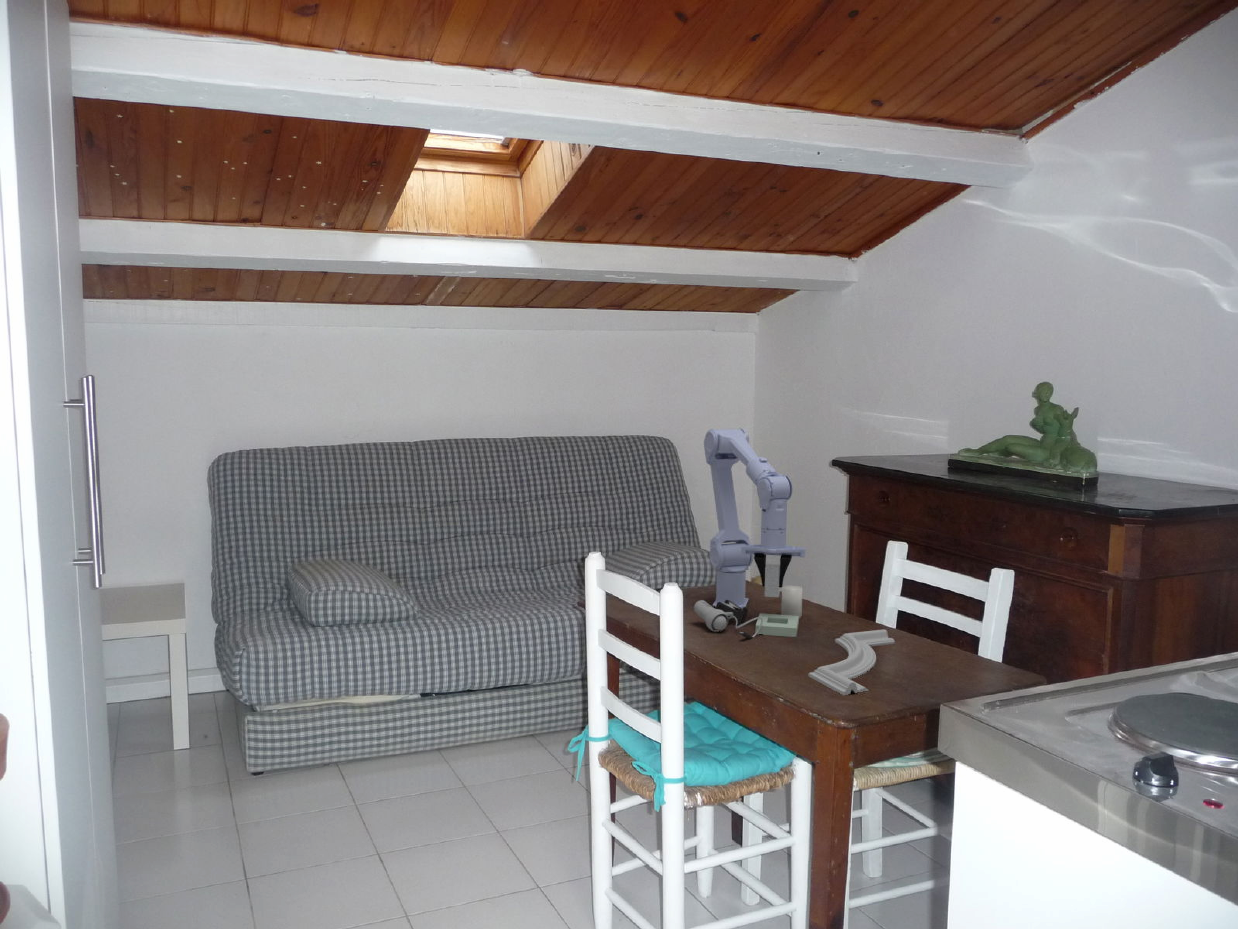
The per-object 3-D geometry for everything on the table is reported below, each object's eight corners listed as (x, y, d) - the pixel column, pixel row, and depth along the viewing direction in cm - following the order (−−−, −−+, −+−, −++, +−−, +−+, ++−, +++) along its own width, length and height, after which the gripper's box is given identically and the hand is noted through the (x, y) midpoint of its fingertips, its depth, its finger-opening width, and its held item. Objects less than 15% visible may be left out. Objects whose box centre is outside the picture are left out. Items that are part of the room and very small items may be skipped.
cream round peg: (782, 613, 239) (783, 584, 238) (802, 614, 238) (803, 586, 237) (780, 618, 234) (781, 589, 234) (800, 619, 233) (801, 590, 233)
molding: (864, 702, 179) (865, 687, 179) (798, 692, 184) (799, 676, 183) (897, 642, 218) (898, 629, 217) (842, 634, 222) (842, 622, 222)
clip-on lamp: (771, 649, 220) (726, 613, 235) (778, 623, 218) (733, 589, 233) (728, 651, 214) (685, 614, 229) (735, 625, 212) (691, 589, 227)
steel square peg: (765, 593, 230) (766, 564, 229) (779, 594, 229) (780, 564, 228) (764, 596, 227) (765, 566, 226) (778, 597, 226) (779, 567, 225)
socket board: (759, 621, 231) (759, 613, 231) (798, 624, 229) (798, 615, 229) (755, 634, 220) (755, 625, 220) (796, 637, 218) (796, 628, 218)
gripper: (740, 529, 224) (739, 588, 225) (805, 532, 221) (803, 591, 222) (743, 524, 231) (742, 581, 232) (806, 527, 228) (804, 585, 229)
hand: (772, 586), depth 228 cm, fingers closed on steel square peg, 3 cm apart
